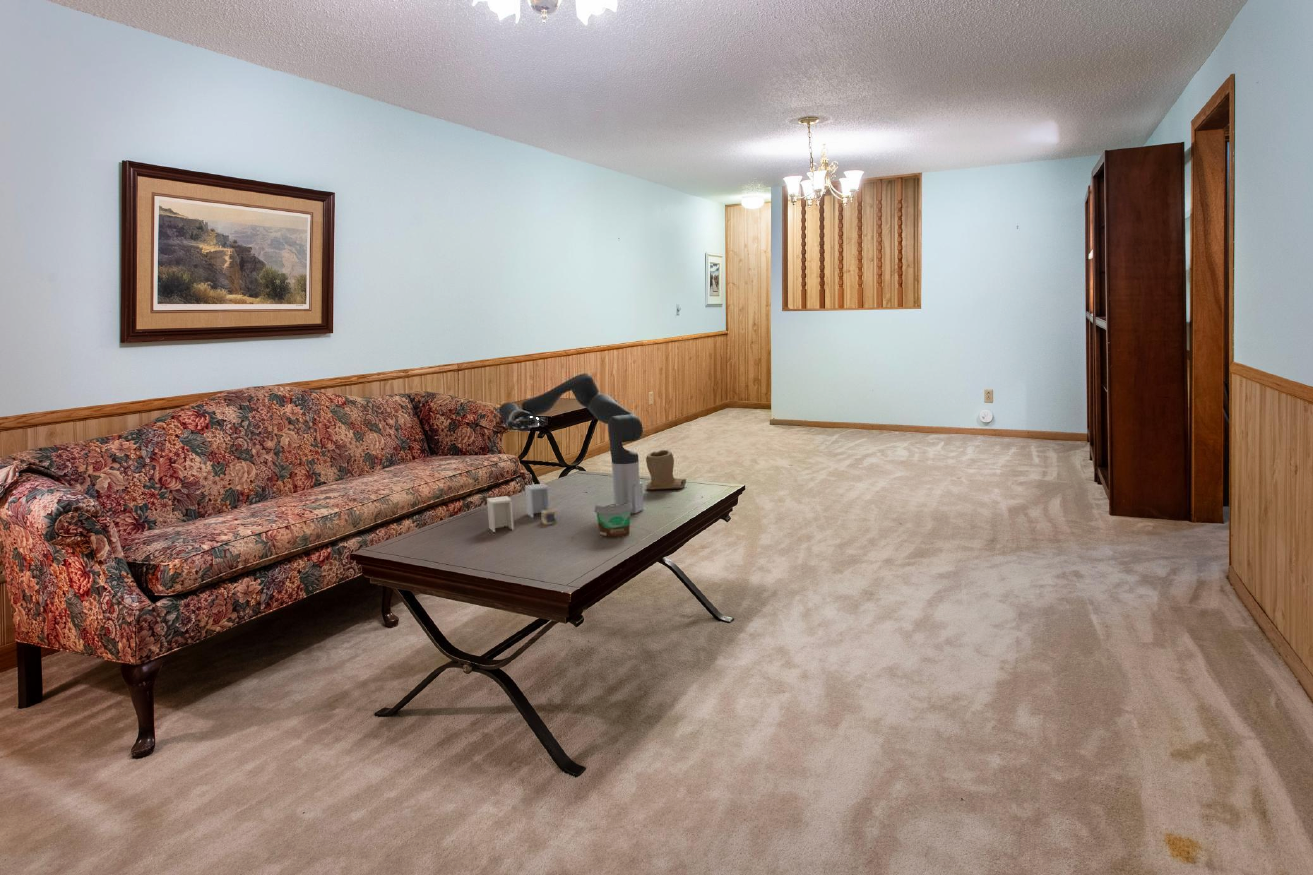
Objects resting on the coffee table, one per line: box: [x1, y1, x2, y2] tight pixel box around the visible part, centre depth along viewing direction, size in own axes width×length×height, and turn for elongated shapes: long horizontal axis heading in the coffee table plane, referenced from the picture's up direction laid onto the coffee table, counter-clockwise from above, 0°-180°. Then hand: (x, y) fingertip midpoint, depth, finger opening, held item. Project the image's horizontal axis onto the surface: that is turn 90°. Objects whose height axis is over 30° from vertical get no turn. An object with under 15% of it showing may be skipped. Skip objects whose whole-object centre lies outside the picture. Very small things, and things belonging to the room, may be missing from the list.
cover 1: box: [486, 495, 515, 533], centre depth 275 cm, size 7×7×10 cm
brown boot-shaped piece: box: [645, 449, 687, 490], centre depth 324 cm, size 15×12×15 cm
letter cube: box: [540, 508, 558, 525], centre depth 281 cm, size 4×4×4 cm
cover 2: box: [524, 483, 551, 519], centre depth 293 cm, size 7×7×10 cm
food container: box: [594, 500, 632, 539], centre depth 260 cm, size 12×6×10 cm, turn 117°
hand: (532, 424), depth 299 cm, fingers open, 8 cm apart
